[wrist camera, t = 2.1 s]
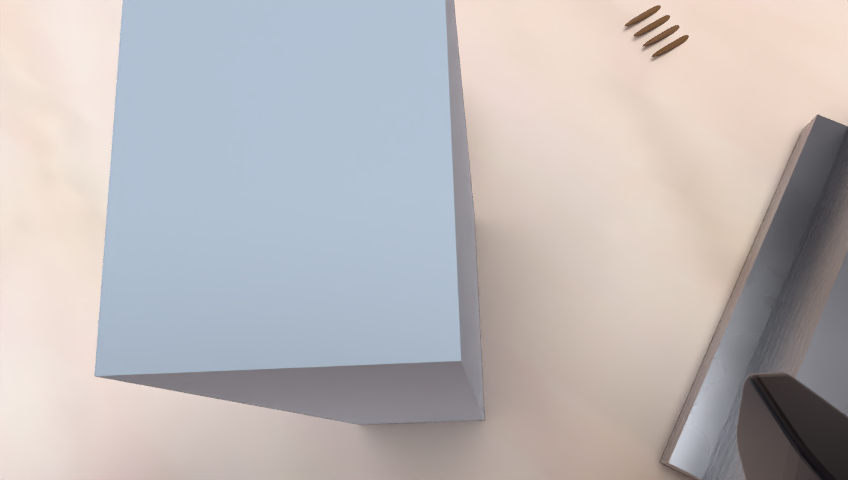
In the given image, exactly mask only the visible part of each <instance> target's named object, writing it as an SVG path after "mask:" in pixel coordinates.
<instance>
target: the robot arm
mask: <svg viewBox="0 0 848 480" xmlns="http://www.w3.org/2000/svg"><path fill="white" fill-rule="evenodd" d="M737 446H738V451H739V455H740V459H741V463H742V466H743V470H744V474H745V478H746V480H848V416H847V415H845V414H844V413H842V412H841V411H840V410H838V409H837V408H835V407H834V406H833V405H831V404H830V403H829V402H827V401H826V400H824V399H823V398H822V397H820V396H819V395H817V394H816V393H815V392H813V391H812V390H811V389H809V388H808V387H806V386H805V385H804V384H802V383H801V382H799V381H798V380H797V379H795V378H794V377H792V376H791V375H789V374H787V373H781V372H777V373H754V374H751V375H749V376H748V377H747V378H746V380H745V382H744V385H743V391H742V398H741V404H740V410H739V417H738V423H737Z"/></svg>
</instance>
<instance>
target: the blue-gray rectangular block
mask: <svg viewBox="0 0 848 480" xmlns="http://www.w3.org/2000/svg"><path fill="white" fill-rule="evenodd" d="M95 376H96V377H102V378H107V379H113V380H118V381H124V382H129V383H135V384H140V385H145V386H151V387H156V388H162V389H167V390H173V391H178V392H184V393H189V394H195V395H200V396H206V397H211V398H217V399H222V400H228V401H233V402H239V403H244V404H249V405H255V406H260V407H266V408H271V409H277V410H282V411H288V412H293V413H299V414H304V415H310V416H315V417H321V418H326V419H332V420H337V421H343V422H348V423H353V424H359V425H363V424H391V423H419V422H447V421H475V420H485V413H484V394H483V374H482V354H481V334H480V314H479V295H478V275H477V255H476V235H475V217H474V206H473V196H472V185H471V175H470V164H469V154H468V143H467V132H466V122H465V111H464V101H463V90H462V80H461V69H460V59H459V48H458V38H457V27H456V17H455V6H454V0H123V6H122V20H121V33H120V46H119V60H118V73H117V86H116V99H115V113H114V126H113V139H112V153H111V166H110V179H109V192H108V206H107V219H106V232H105V246H104V259H103V272H102V286H101V299H100V312H99V325H98V339H97V352H96V365H95Z"/></svg>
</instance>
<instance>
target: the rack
mask: <svg viewBox="0 0 848 480" xmlns="http://www.w3.org/2000/svg"><path fill="white" fill-rule="evenodd" d="M777 372H781V373H787V374H789V375H791V376H792V377H794V378H795V379H797V380H798V381H799V382H801V383H802V384H804V385H805V386H806V387H808V388H809V389H811V390H812V391H813V392H815V393H816V394H817V395H819V396H820V397H822V398H823V399H824V400H826V401H827V402H829V403H830V404H831V405H833V406H834V407H835V408H837V409H838V410H840V411H841V412H842V413H844V414H845V415H847V416H848V126H845V125H843V124H840V123H837V122H835V121H832V120H830V119H827V118H825V117H822V116H820V115H816V117H815V118H814V119H813V120H812V121H811V122H810V123H809V124H808V125H807V126H806V127H805V128H804V129H803V130H802V132H801V134H800V136H799V139H798V141H797V143H796V146H795V148H794V150H793V153H792V155H791V157H790V160H789V162H788V164H787V167H786V169H785V171H784V174H783V176H782V178H781V181H780V183H779V185H778V188H777V190H776V192H775V194H774V197H773V199H772V201H771V204H770V206H769V208H768V211H767V213H766V215H765V218H764V220H763V222H762V225H761V227H760V229H759V232H758V234H757V236H756V239H755V241H754V243H753V246H752V248H751V250H750V253H749V255H748V257H747V260H746V262H745V264H744V267H743V269H742V271H741V274H740V276H739V278H738V281H737V283H736V285H735V288H734V290H733V292H732V295H731V297H730V299H729V302H728V304H727V306H726V309H725V311H724V313H723V316H722V318H721V320H720V323H719V325H718V327H717V330H716V332H715V334H714V337H713V339H712V341H711V344H710V346H709V348H708V351H707V353H706V355H705V358H704V360H703V362H702V365H701V367H700V369H699V372H698V374H697V376H696V379H695V381H694V383H693V386H692V388H691V390H690V393H689V395H688V397H687V399H686V402H685V404H684V406H683V409H682V411H681V413H680V416H679V418H678V420H677V423H676V425H675V427H674V430H673V432H672V434H671V437H670V439H669V441H668V444H667V446H666V448H665V451H664V453H663V455H662V458H661V460H660V463H662V464H664V465H666V466H668V467H670V468H672V469H674V470H676V471H678V472H680V473H682V474H684V475H686V476H688V477H690V478H692V479H694V480H746V478H745V474H744V470H743V466H742V463H741V459H740V455H739V451H738V446H737V423H738V417H739V410H740V404H741V398H742V391H743V385H744V382H745V380H746V378H747V377H748V376H749V375H751V374H754V373H777Z"/></svg>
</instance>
